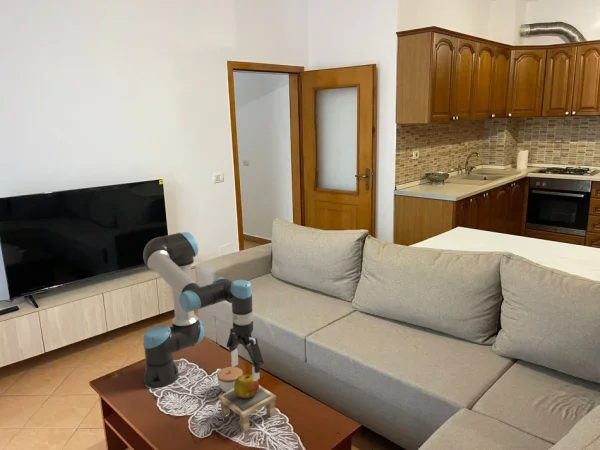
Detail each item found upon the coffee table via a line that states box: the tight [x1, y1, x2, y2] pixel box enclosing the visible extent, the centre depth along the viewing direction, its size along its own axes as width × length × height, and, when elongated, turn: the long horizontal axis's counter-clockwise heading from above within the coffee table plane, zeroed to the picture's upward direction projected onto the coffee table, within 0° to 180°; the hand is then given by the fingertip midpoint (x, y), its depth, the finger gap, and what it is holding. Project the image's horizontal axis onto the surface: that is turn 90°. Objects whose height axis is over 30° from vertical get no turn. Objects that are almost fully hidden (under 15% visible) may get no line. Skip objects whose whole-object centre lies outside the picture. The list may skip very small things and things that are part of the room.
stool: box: [218, 384, 277, 433], centre depth 179 cm, size 16×16×8 cm
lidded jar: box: [216, 366, 244, 393], centre depth 196 cm, size 11×11×9 cm
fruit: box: [234, 374, 260, 398], centre depth 177 cm, size 10×9×8 cm
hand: (245, 372), depth 176 cm, fingers open, 13 cm apart
